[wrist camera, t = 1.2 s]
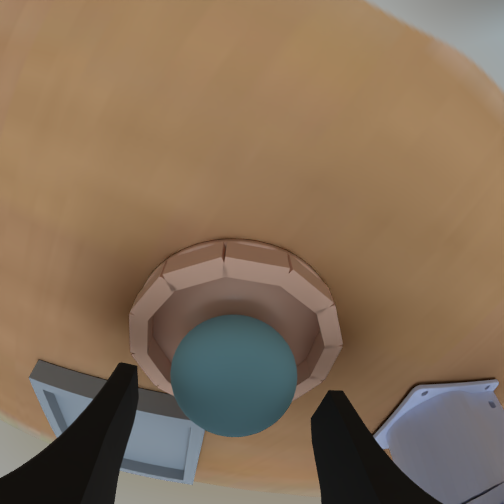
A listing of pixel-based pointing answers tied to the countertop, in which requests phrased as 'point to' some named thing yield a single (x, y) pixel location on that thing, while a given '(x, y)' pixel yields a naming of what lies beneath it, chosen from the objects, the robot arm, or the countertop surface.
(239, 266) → the dish
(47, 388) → the tray
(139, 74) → the countertop surface
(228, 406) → the ball
